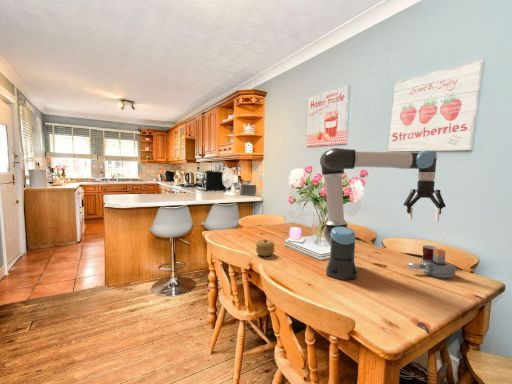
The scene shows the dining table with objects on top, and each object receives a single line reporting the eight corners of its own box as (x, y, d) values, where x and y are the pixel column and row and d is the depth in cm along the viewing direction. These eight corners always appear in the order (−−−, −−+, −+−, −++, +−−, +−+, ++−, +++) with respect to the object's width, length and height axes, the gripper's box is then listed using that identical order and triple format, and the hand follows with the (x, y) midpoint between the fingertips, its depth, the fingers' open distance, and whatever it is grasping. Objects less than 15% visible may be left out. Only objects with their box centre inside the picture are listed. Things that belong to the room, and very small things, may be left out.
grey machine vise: (415, 278, 127) (415, 266, 126) (402, 269, 138) (403, 258, 138) (458, 279, 125) (459, 267, 125) (442, 270, 137) (442, 259, 137)
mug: (432, 268, 139) (433, 251, 138) (416, 264, 146) (417, 247, 145) (441, 265, 145) (442, 248, 144) (426, 261, 151) (427, 244, 151)
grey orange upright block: (436, 271, 130) (438, 250, 129) (432, 269, 133) (433, 248, 132) (444, 272, 130) (445, 250, 129) (439, 269, 133) (440, 248, 132)
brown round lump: (273, 252, 166) (273, 237, 165) (275, 258, 154) (275, 242, 153) (255, 252, 166) (255, 236, 165) (255, 258, 154) (256, 241, 153)
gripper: (405, 179, 133) (402, 220, 134) (456, 181, 131) (452, 222, 132) (398, 179, 140) (395, 217, 142) (446, 180, 138) (443, 219, 140)
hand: (423, 219), depth 137 cm, fingers open, 13 cm apart
